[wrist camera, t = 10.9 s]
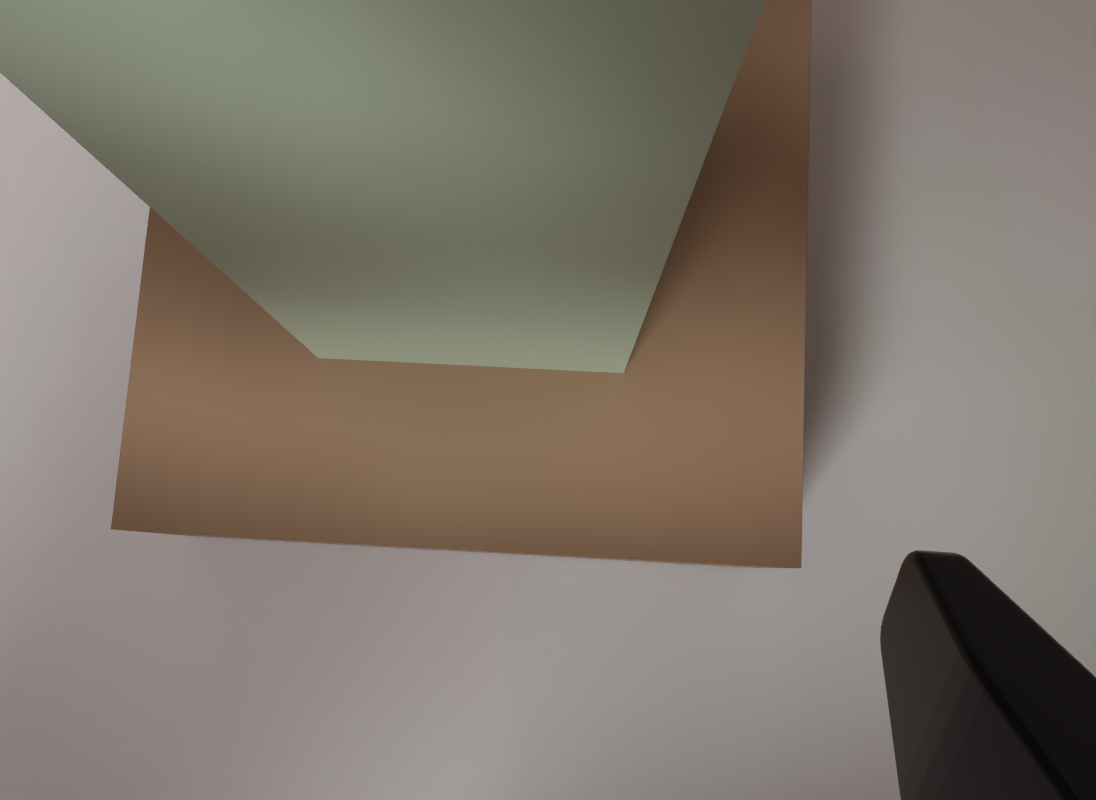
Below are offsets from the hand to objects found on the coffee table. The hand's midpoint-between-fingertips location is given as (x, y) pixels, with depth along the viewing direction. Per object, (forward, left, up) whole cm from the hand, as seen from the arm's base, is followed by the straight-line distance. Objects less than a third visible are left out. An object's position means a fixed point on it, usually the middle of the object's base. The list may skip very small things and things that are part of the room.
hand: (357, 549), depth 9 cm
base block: (+6, -1, -12) cm, 13 cm away
